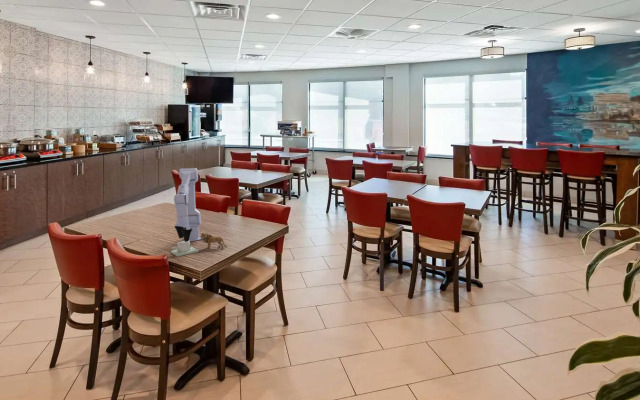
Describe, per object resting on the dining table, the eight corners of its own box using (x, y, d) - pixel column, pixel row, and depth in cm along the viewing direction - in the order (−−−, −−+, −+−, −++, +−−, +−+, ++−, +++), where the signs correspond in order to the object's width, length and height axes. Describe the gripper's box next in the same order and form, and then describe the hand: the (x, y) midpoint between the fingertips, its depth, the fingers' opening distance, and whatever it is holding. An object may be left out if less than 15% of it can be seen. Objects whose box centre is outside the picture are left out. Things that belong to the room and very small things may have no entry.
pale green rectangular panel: (170, 252, 220) (170, 250, 220) (191, 248, 228) (191, 246, 228) (177, 256, 214) (177, 254, 214) (198, 251, 221) (198, 250, 221)
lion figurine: (200, 249, 226) (199, 233, 225) (202, 246, 231) (201, 231, 230) (226, 248, 227) (225, 233, 225) (227, 246, 232) (227, 231, 231)
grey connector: (172, 252, 218) (171, 243, 217) (188, 248, 224) (188, 240, 223) (174, 253, 216) (173, 244, 215) (191, 250, 222) (190, 241, 221)
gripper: (170, 214, 220) (171, 238, 222) (180, 219, 209) (182, 244, 212) (182, 212, 224) (184, 235, 227) (193, 217, 213) (194, 241, 216)
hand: (183, 239), depth 220 cm, fingers open, 7 cm apart
